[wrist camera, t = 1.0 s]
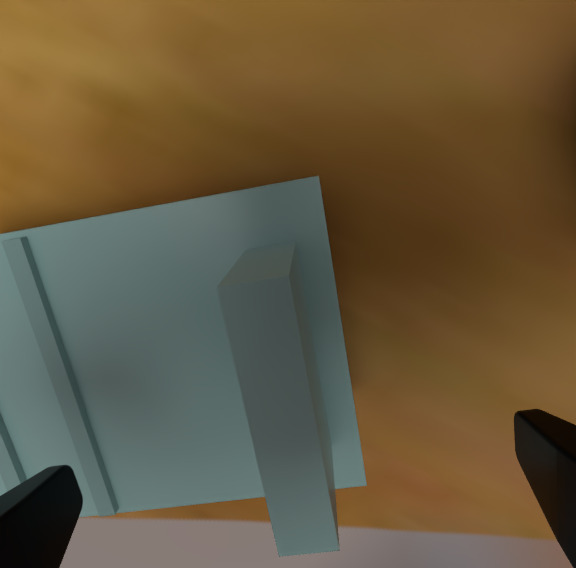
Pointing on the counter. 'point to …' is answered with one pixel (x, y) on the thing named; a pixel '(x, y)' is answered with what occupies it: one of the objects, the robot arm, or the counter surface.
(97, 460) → the lid
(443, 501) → the counter surface
